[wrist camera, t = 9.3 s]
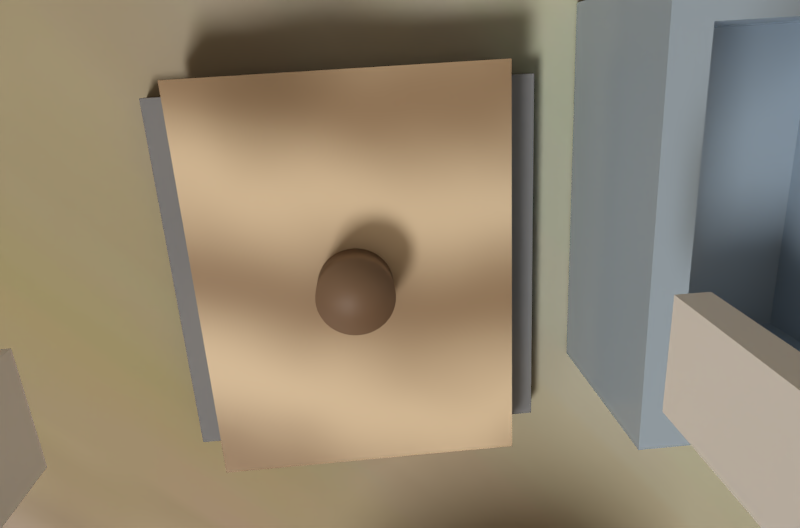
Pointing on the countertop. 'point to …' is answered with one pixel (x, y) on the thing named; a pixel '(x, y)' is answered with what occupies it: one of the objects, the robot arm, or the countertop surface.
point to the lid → (350, 257)
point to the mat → (520, 251)
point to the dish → (679, 185)
